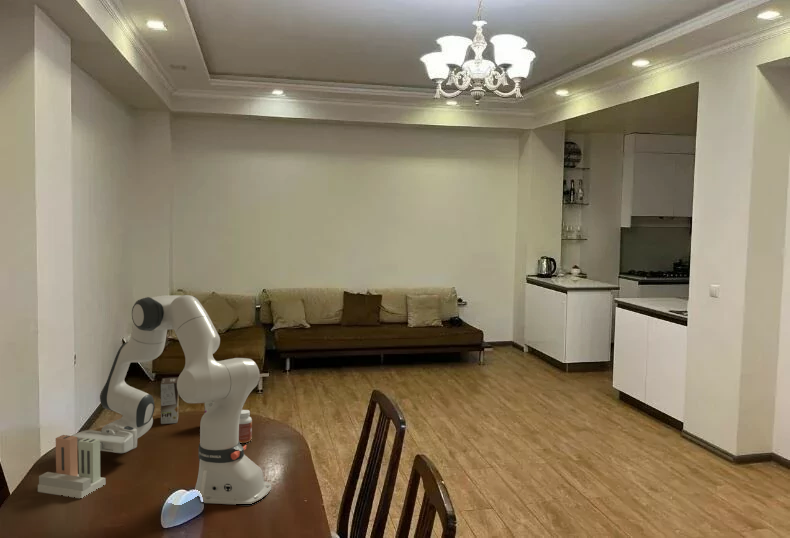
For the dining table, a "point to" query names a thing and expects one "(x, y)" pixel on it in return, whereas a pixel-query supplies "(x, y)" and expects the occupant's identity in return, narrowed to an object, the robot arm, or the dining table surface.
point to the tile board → (72, 492)
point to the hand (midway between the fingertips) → (84, 450)
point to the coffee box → (169, 400)
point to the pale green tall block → (89, 458)
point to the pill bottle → (245, 426)
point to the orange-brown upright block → (66, 455)
